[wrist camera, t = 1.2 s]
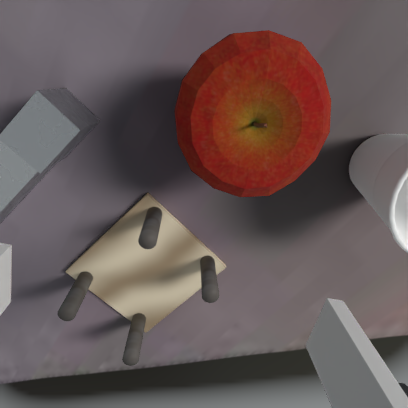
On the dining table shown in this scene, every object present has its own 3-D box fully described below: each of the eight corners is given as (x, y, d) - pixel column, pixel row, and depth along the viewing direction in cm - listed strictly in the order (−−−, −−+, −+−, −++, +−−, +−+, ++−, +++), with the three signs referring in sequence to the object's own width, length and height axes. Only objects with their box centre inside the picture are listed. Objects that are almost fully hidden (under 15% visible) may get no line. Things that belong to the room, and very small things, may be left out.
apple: (199, 25, 28) (205, -9, 17) (311, 68, 30) (385, 62, 19) (164, 147, 32) (150, 185, 21) (266, 179, 33) (304, 230, 22)
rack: (67, 268, 36) (42, 308, 30) (147, 192, 33) (138, 218, 27) (146, 329, 40) (138, 375, 34) (225, 264, 37) (232, 301, 31)
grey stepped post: (-6, 233, 35) (-44, 264, 29) (-40, 208, 33) (-86, 235, 28) (100, 120, 31) (80, 130, 25) (66, 87, 30) (37, 90, 24)
